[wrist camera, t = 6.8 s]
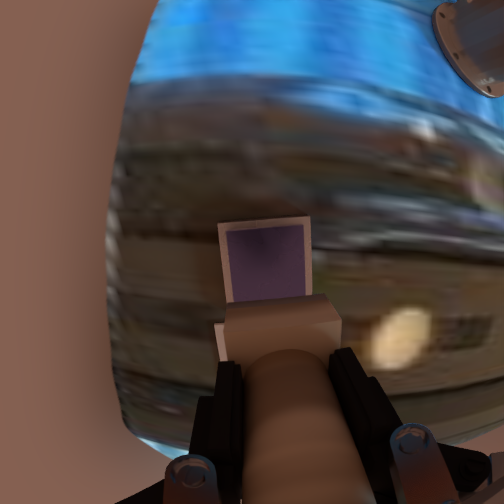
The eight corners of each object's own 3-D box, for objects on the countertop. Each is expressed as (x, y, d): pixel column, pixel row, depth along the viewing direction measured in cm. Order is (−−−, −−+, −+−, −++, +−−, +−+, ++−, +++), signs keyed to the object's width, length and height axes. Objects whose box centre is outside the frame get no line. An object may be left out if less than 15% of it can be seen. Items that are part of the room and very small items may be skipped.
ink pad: (218, 221, 22) (217, 224, 21) (306, 214, 22) (310, 216, 21) (229, 312, 24) (228, 320, 23) (309, 305, 24) (312, 313, 23)
